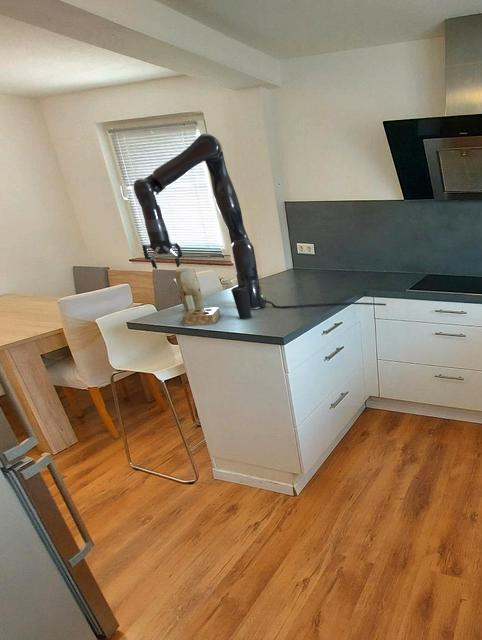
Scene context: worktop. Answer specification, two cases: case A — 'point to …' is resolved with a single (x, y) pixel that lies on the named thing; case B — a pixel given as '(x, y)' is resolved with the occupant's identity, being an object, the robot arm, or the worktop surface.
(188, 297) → the peg
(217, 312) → the peg block
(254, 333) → the worktop surface
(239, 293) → the drinking cup
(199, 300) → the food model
